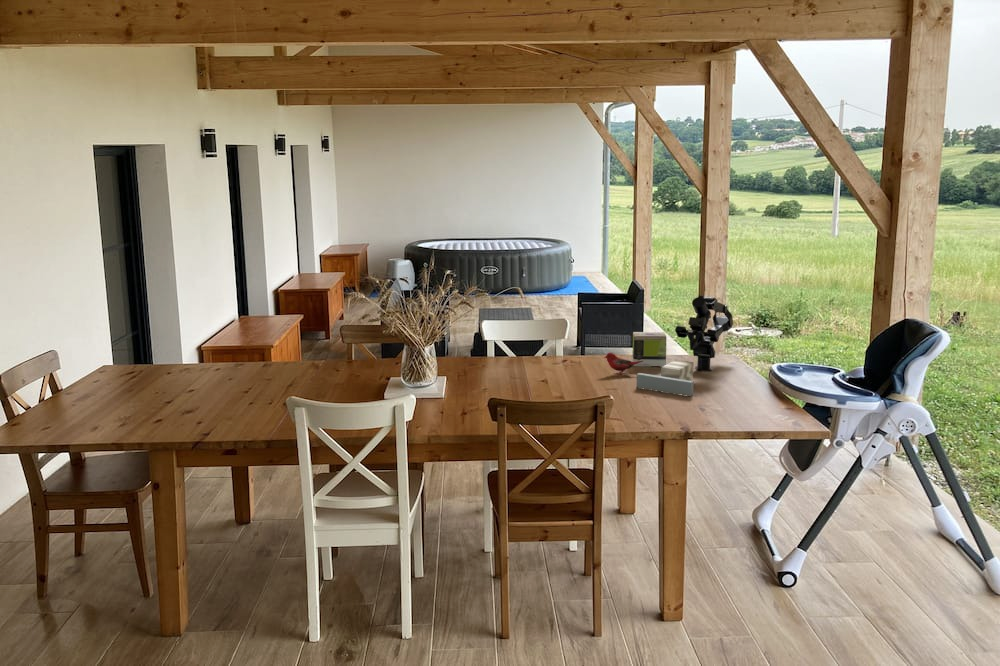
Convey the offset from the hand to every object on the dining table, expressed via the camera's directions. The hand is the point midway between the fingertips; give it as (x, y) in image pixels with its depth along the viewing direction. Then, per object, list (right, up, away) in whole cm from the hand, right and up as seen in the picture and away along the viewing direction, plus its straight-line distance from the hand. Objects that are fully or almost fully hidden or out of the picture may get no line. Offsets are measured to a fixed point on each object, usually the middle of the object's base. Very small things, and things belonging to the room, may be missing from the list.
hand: (691, 349), depth 383 cm
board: (-16, -17, -20) cm, 31 cm away
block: (-8, -15, -9) cm, 19 cm away
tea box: (-14, -8, +25) cm, 30 cm away
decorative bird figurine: (-29, -11, +8) cm, 32 cm away
